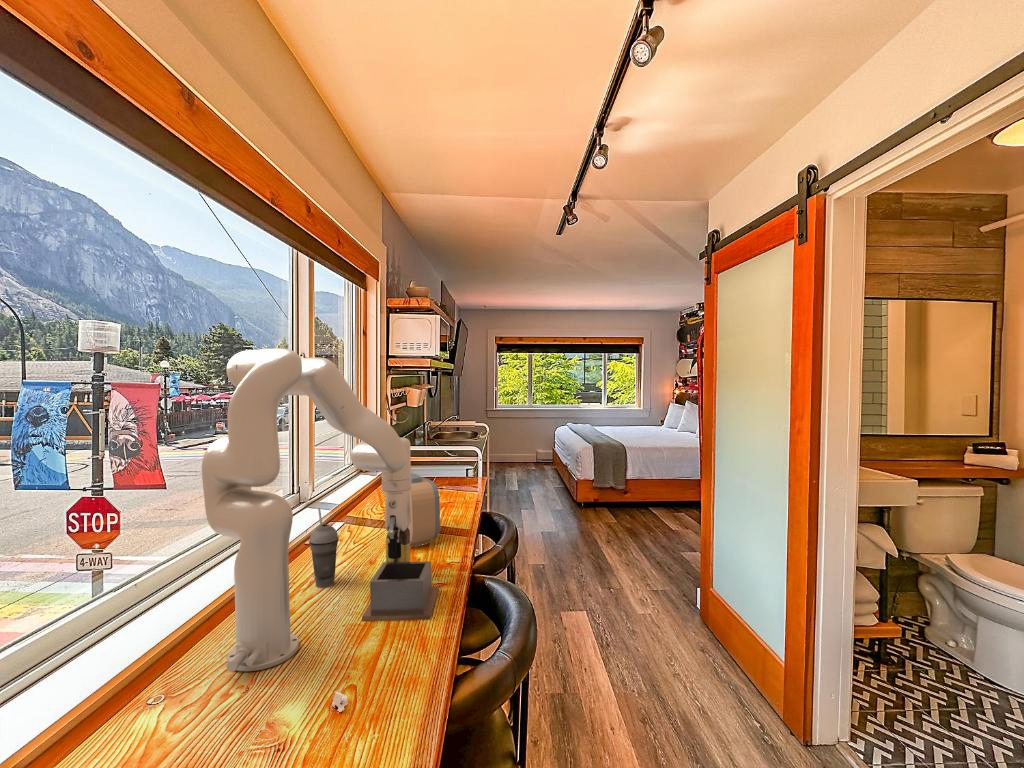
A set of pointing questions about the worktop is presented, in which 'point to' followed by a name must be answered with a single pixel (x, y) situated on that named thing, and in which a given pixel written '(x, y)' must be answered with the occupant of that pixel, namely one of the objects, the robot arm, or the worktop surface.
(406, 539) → the sauce bottle
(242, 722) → the worktop surface
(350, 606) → the worktop surface
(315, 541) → the beverage cup
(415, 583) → the grey square open box
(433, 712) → the worktop surface
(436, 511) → the alarm clock
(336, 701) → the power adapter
